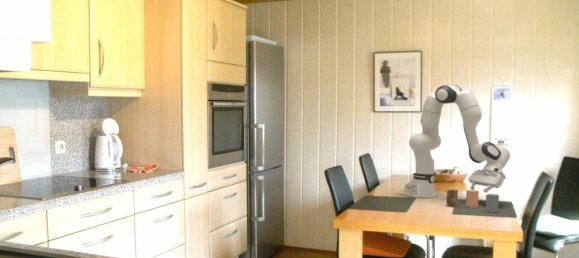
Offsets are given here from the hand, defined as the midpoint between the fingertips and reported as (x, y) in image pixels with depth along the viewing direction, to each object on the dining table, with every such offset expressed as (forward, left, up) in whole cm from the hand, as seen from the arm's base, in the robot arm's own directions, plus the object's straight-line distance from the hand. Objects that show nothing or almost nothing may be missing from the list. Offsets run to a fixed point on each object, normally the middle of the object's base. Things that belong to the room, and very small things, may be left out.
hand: (478, 190), depth 282 cm
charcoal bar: (+13, -7, -9) cm, 17 cm away
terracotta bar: (-1, -4, -9) cm, 10 cm away
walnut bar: (-9, -11, -9) cm, 17 cm away
